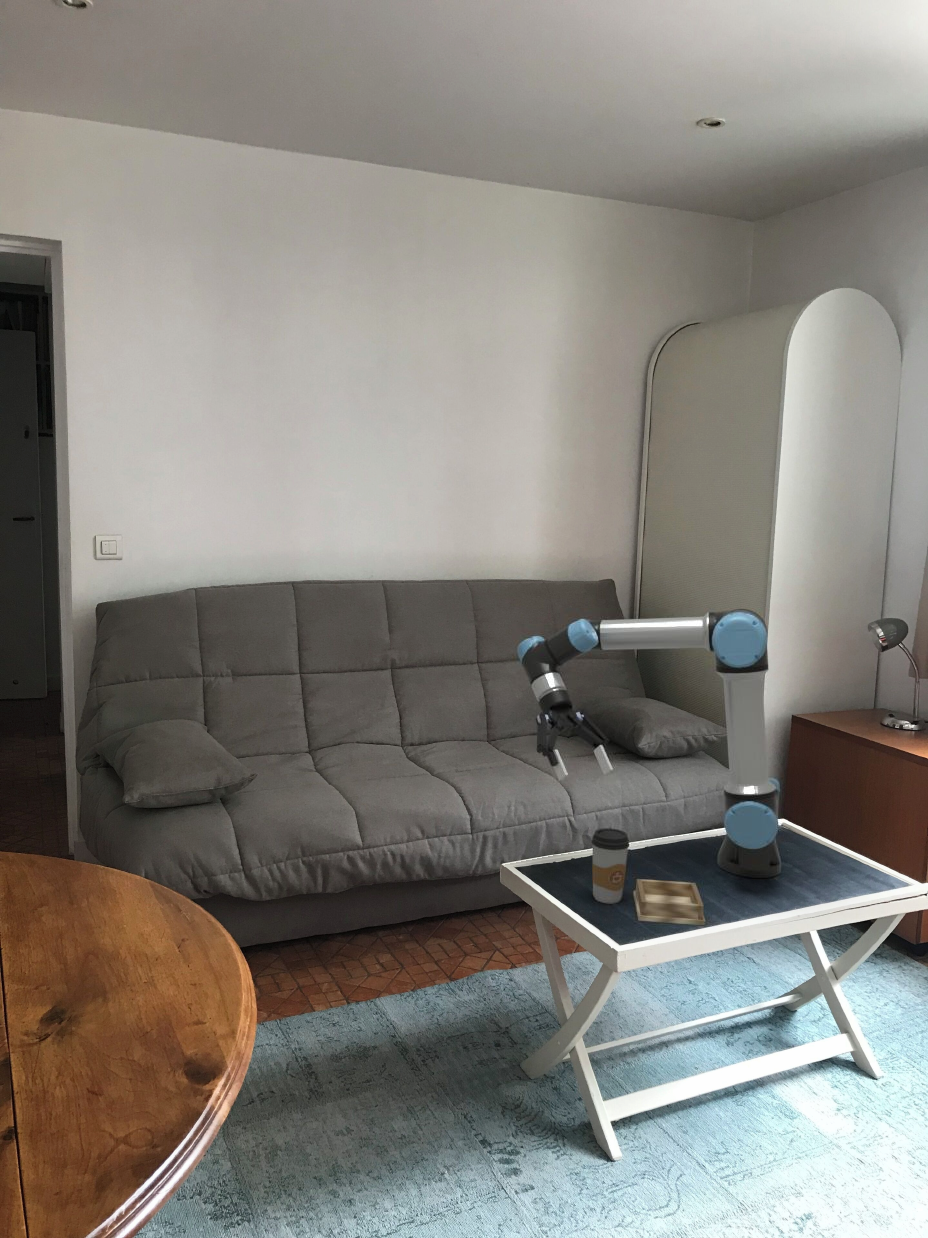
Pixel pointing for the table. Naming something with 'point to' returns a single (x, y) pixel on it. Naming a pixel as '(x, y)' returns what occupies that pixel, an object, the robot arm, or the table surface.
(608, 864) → the coffee cup
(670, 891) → the open wooden box
